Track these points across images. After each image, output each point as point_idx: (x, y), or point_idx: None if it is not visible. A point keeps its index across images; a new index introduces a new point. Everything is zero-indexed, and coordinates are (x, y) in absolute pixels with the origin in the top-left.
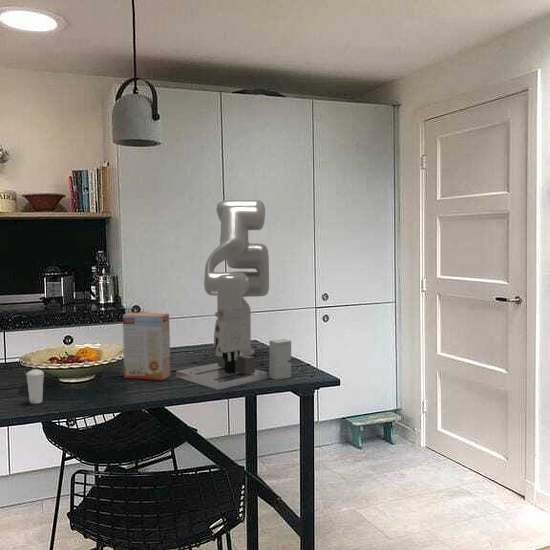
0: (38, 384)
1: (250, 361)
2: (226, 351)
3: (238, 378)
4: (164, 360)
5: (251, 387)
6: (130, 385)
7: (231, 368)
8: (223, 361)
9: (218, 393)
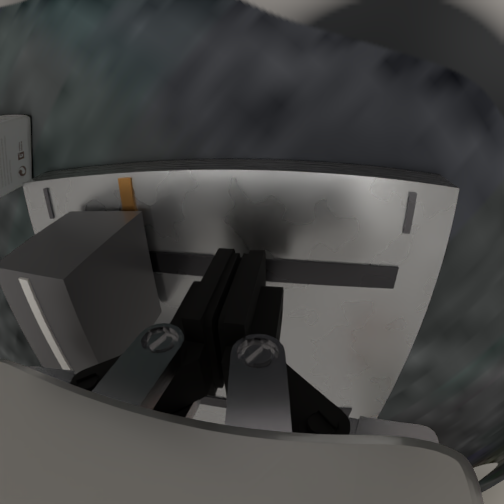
0: None
1: (43, 253)
2: (412, 452)
3: (240, 176)
4: None
5: (223, 49)
6: (491, 426)
7: (257, 274)
8: None
9: (485, 115)
